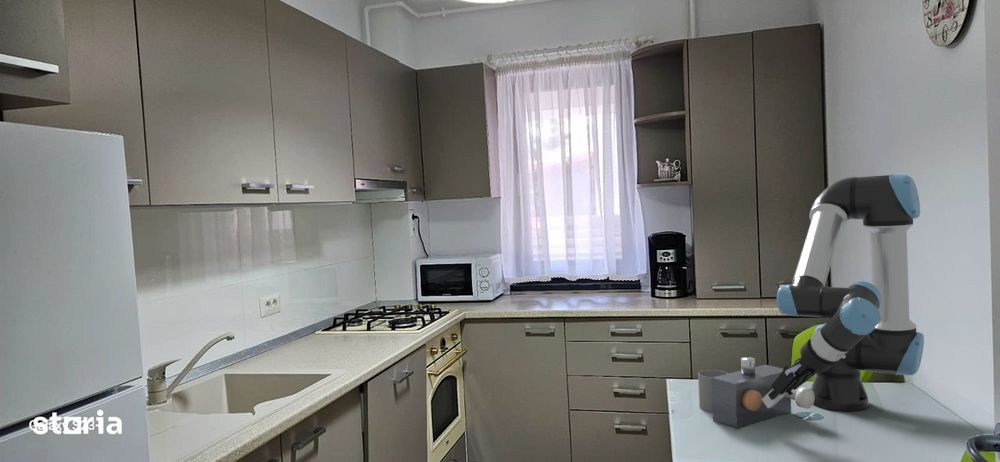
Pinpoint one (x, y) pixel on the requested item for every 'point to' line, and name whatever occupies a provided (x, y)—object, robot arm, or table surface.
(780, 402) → the grey puzzle box
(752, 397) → the knob
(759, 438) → the table surface
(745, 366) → the dial
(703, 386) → the cup
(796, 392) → the knob
